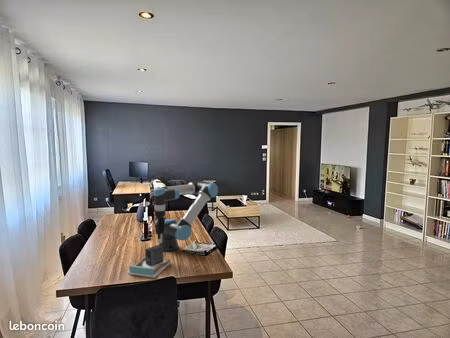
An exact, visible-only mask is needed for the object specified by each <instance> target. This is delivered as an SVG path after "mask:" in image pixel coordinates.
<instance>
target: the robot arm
mask: <svg viewBox="0 0 450 338" xmlns="http://www.w3.org/2000/svg"><path fill="white" fill-rule="evenodd" d="M218 193H219V187H218V186H217V184H216V183H215V182H212V181H211V182H209V181H201V180H199V181H193V182H189V183H188V184H182V185H181V184H180V185H178V184H177V185H172V186H163V187H159V186H156V187H154V188H153V189H152V195H153V197H154V202H153V203H154V205H153V206H154V213H153V215H154V216H155V221H153V224H154V229H155V230H154V231H155V234H156V235H157V244H159V246H162V247H163V252H173V251H176V250H178V249H179V243H178V241H177V240H179V241H186V240H188V239H189V238H190V236H191V235H192V228H193V225H192V224H193V223H194V221H195V220H196V219H197V217H198V215H200V212H201V211H202V209H203V207H204V206H205V205H206V204H207V202H208V201H210V200H211V199H212V198H216V196H218ZM186 194H190V195H197V197H196V198H195V199H194V201H193V202H192V204H191V205H190V206H189V208H188V210H187V211H186V212H185V214H184V215H183V216H182V218H179V219H178V220H177V219H176V218H166V217H165V216H166V202H167V201H173V200H178V199H179V198H180V195H186Z"/></svg>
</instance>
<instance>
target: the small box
mask: <svg viewBox="0 0 450 338" xmlns="http://www.w3.org/2000/svg"><path fill="white" fill-rule="evenodd" d="M144 251H145V256H146V264H147V265H149V266H153V265H155V264H158V263H160V262H163V261H164V251H163V247H162V246H159V245H158V244H156V245H154V246H151V247H148V248H145V250H144Z"/></svg>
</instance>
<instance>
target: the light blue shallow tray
mask: <svg viewBox="0 0 450 338" xmlns="http://www.w3.org/2000/svg"><path fill="white" fill-rule="evenodd" d="M170 264H171V259H167V260H163V262H160V263H158V264H155V265H153V266H149V265H147V264H146V255H145V256H144V257H142V258H141V259H140V260H139V261H137V262H136V263H135V264H134V265H132V264H130V265H129V270H128V271H127V272H126V273H127V275H131V276H132V275H134V276H140V277H148V278H155V279H156V277H157V276H158V275H159V274H160V273H162V272H163V271H164V269H166V268H167V266H169V265H170Z"/></svg>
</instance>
